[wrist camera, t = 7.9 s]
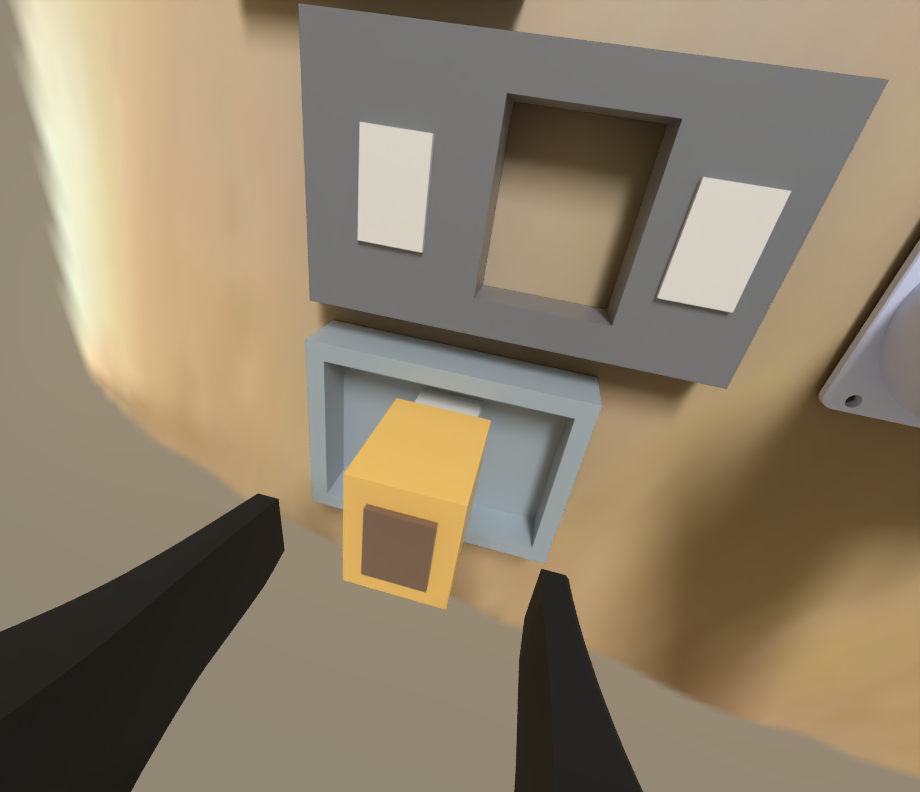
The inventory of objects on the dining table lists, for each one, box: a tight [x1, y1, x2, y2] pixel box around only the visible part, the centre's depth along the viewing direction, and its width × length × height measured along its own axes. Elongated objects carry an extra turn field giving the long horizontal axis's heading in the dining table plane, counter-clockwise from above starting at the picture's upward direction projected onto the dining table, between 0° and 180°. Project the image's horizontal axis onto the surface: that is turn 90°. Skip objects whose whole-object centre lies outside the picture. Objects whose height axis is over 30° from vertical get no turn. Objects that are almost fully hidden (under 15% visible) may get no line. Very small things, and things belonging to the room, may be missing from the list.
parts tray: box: [305, 320, 602, 564], centre depth 20 cm, size 12×9×2 cm
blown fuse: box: [343, 388, 491, 610], centre depth 17 cm, size 4×5×7 cm
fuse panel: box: [298, 3, 888, 389], centre depth 15 cm, size 16×9×2 cm, turn 81°
